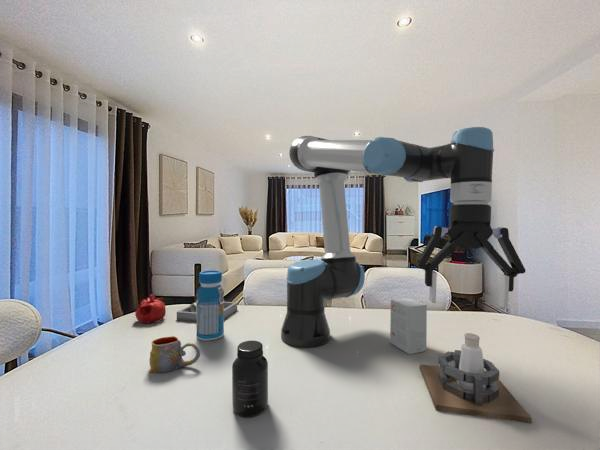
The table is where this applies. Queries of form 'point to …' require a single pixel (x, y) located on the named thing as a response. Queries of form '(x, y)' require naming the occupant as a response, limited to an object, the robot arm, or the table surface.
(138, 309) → the pomegranate
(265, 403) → the supplement bottle
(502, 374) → the table surface
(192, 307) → the pipe fitting
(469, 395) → the collar frame
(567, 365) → the table surface
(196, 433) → the table surface
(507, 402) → the collar base
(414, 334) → the small box
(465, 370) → the pepper shaker
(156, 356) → the mug
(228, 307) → the parts tray
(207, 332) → the beverage bottle
